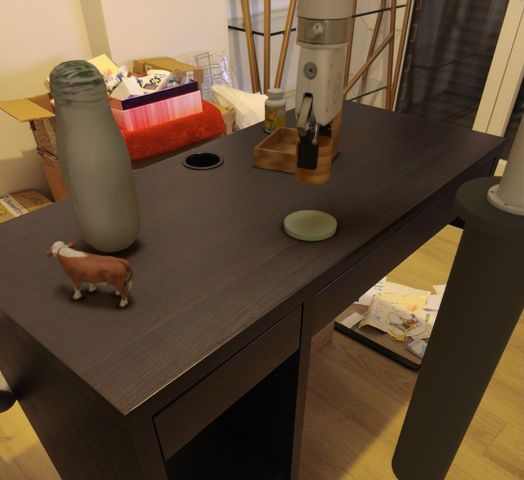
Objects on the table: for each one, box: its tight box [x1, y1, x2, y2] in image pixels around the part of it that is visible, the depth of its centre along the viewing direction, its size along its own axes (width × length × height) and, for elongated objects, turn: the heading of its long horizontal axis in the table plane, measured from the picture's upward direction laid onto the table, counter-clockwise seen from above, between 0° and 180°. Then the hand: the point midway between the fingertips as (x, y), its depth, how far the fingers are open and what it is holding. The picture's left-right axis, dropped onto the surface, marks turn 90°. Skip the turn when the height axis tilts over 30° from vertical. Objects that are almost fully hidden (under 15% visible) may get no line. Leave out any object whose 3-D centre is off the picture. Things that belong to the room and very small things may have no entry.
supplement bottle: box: [264, 87, 287, 134], centre depth 121 cm, size 5×5×10 cm
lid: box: [331, 107, 343, 142], centre depth 100 cm, size 16×15×1 cm
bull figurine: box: [45, 240, 134, 308], centre depth 70 cm, size 4×13×8 cm, turn 71°
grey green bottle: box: [48, 59, 142, 253], centre depth 73 cm, size 10×10×28 cm
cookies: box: [294, 135, 333, 186], centre depth 79 cm, size 6×6×6 cm
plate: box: [283, 209, 338, 242], centre depth 87 cm, size 10×10×1 cm
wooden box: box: [253, 126, 341, 174], centre depth 109 cm, size 15×15×4 cm
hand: (313, 159), depth 79 cm, fingers closed on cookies, 6 cm apart
